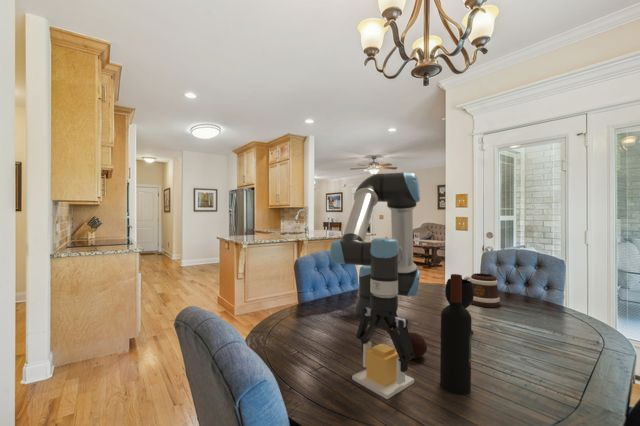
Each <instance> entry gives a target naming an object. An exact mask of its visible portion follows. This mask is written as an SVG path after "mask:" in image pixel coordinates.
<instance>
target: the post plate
mask: <svg viewBox="0 0 640 426" xmlns="http://www.w3.org/2000/svg"><path fill="white" fill-rule="evenodd" d="M351 379H352V380H353V381H355V382H356V383H357V384H359V385H361V386H363V387H365V388H366V389H368V390H370V391H372V392H374V393H375V394H377V395H379V396H380V397H382V398H384V399H386V400H389V399H390V398H392V397H393V396H395V395H397V394H398V393H400V392H402V391H404V390H405V389H406V388H408V387H411V386H412V385H413V384H414V383H415V379H414V378H413V377H411V376H409V375H407V374H405V382H403V383H402V384H400V385H398V384H396V382H397V380H396V381H394V382H393V383H391V384H389V385H387V386H386V387H384V386H382V385H381V384H379V383H377V382H375V381H373V380H371V379H370V378H368V377H366V368H365V369H364V370H361V371H359V372H357V373H355V374H352V377H351Z"/></svg>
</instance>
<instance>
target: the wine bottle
mask: <svg viewBox="0 0 640 426" xmlns="http://www.w3.org/2000/svg"><path fill="white" fill-rule="evenodd" d="M450 279H451V301H450V304H449V303H448V305H447V306H445V307H444V308H443V309H442V310H441V311H440V312H441V314H440V360H439V361H440V366H439V368H440V369H439V370H440V373H439V375H440V378H439V380H440V381H439V383H440V384H439V385H440V387H441V388H442V389H443V390H444V391H446V392H447V393H451V394H455V395H458V396H459V395H462V396H463V395H468V394H470V393H471V391H472V390H471V389H472V386H471V385H472V335H471V330H472V315H471V313H470V311H469V310H467V308H466V309H465V308H464V307H463V306H462V279H463V275H462V274H457V273H451V274H450Z"/></svg>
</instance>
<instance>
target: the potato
mask: <svg viewBox="0 0 640 426" xmlns="http://www.w3.org/2000/svg"><path fill="white" fill-rule="evenodd" d="M409 335H410V339H411V343H412V347H413V350H414V354H415V357H414V358H412V359H413V360H414V359H418V358H421V357H423V356H424V355H425V354H426V352H427V349H428V344H427V341H426V340H425V339H424V337H423V336H422V335H420V334H418V333H416V332H409Z"/></svg>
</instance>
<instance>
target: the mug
mask: <svg viewBox="0 0 640 426" xmlns="http://www.w3.org/2000/svg"><path fill="white" fill-rule="evenodd" d="M463 279H465V280H469V281H471V282H472V286H473V291H474V298H473V301H472V303H471V304H470V305H473V306H476V307H480V308H492V309H493V308H498V307H499V306H500V301H501V300H500V299H501V298H500V297H499V289H498V284H499V281H498V279H497V277H496V276H495V275H493V274H490V273H489V274H488V273H472V274H471V276H470V275H466V276H465V277H463Z"/></svg>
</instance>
